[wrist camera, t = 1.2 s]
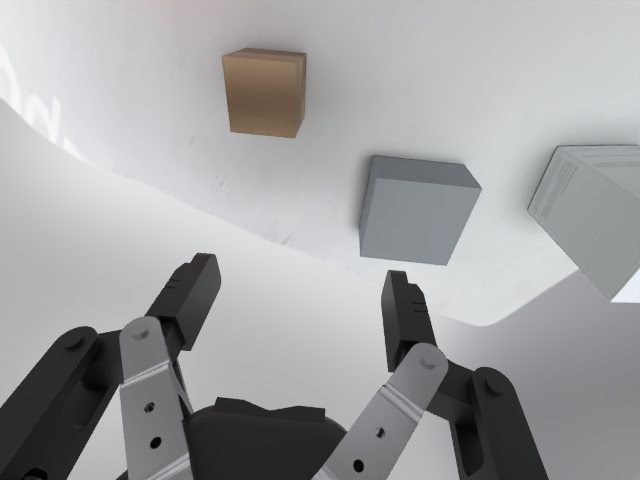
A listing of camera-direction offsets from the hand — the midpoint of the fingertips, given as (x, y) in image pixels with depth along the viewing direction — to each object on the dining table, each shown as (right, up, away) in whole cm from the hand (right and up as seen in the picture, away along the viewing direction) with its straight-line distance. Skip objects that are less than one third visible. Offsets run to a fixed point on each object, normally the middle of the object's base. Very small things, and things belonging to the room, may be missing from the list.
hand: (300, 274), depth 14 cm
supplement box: (+27, +8, +15) cm, 32 cm away
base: (+10, +6, +18) cm, 22 cm away
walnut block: (-3, +15, +12) cm, 20 cm away
